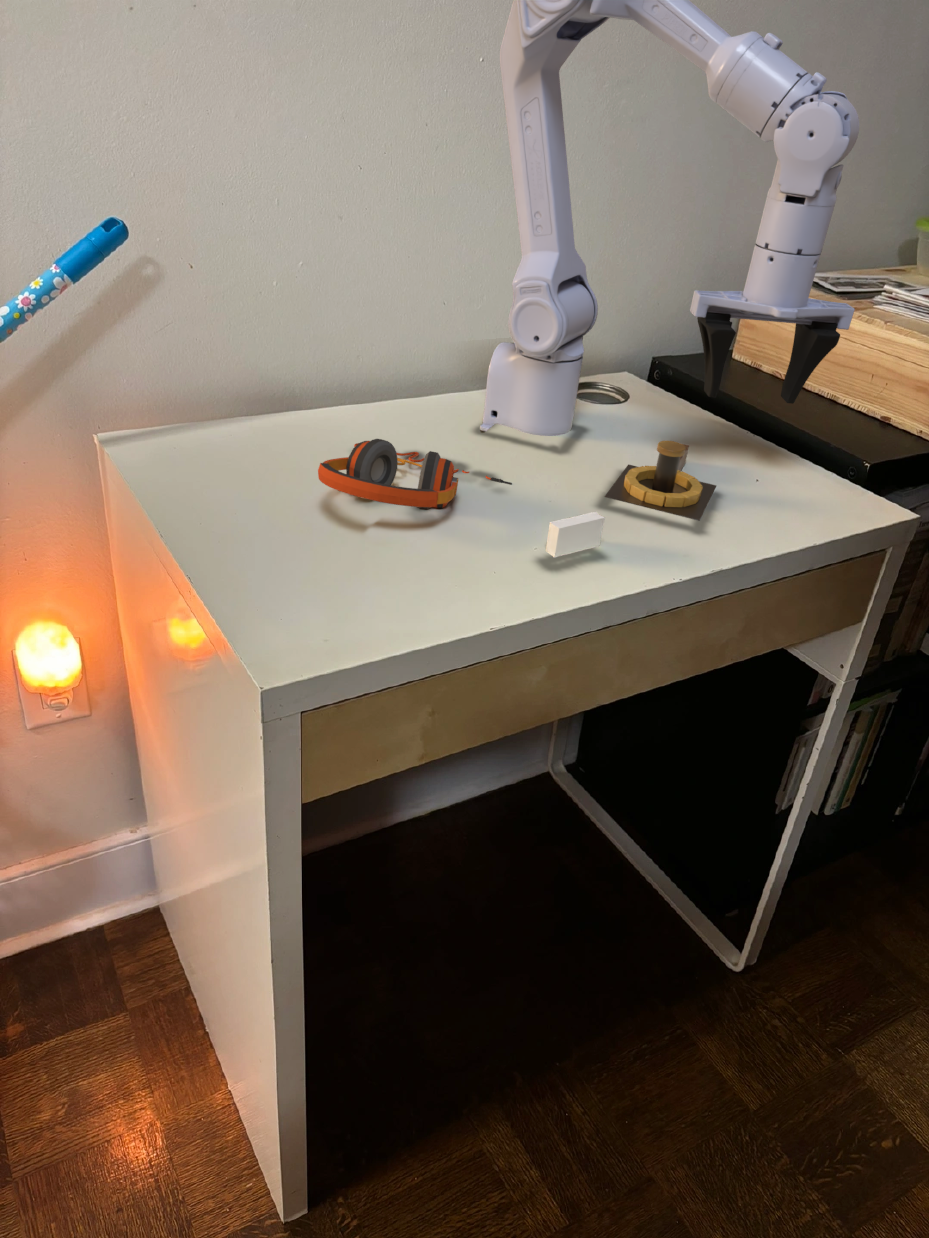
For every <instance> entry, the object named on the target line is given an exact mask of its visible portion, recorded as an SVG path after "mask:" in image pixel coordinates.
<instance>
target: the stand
mask: <svg viewBox="0 0 929 1238" xmlns="http://www.w3.org/2000/svg"><path fill="white" fill-rule="evenodd" d="M683 444H684V443H681V442H678V441H674V440H660V441H658V443H657V446H656V451H657V452H658V456H657V462H656V465H655V466H656V470H655V475H654V479H645V480H641V481H638V482H639V484H641V485H643V486H645V487H647V488H649V489H651V490H655V491H659V492H663V493H683V492H686V491H687V489H686V488H684V487H682V486H680V485H678V484H676V483H675V479H676V475H677V470H678V466H679V462H680V457H681V456H683V455H684V454H685V450H686V447H685V446H684V445H683ZM637 467H638V466H637V465H633V464H627V465H626V467H625V468H624V469H623V471H622V472H621V474H620V475H619V476H618V477H617V478H616V480H615V482H614V483H613V484H612V486H611V487H610V488H609V490H608V491H607V492H606V494H605V495H604V498H606V499H607V498H608V499H611V500H614V501H619V502H623V503H626V504H631V505H634V506H639V507H643V508H647V509H650V510H655V511H659V512H662V513H666V514H669V515H670V514H671V515H675V516H678V517H682V518H686V519H690V520H694V521H698V522H699V521H700V520H701V519H702V516H703V515H704V512H705V510H706V508H707V506H708V504H709V502H710V501H711V498H712V496H713V494H714V492H715V490H716V488H717V485H716V484H712V483H708V482H704V481H700V480H698V481H699V482H700V484H701V485H702V487H703V489H702V493H701V497H700V498H699V500H698V502H697V503H696V504H693V505H690V506H686V507H683V506H682V507H664V505H663V506H658V505H654V504H650V503H646V502H645V501H641V500H639V499H637V498H635V497H634V496H632V495H630V493H628V492H627V490H626V488H625V487H624V480H625V476H626V474H627V473H628V472H629V470H631V469H633V468H637Z"/></svg>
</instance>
